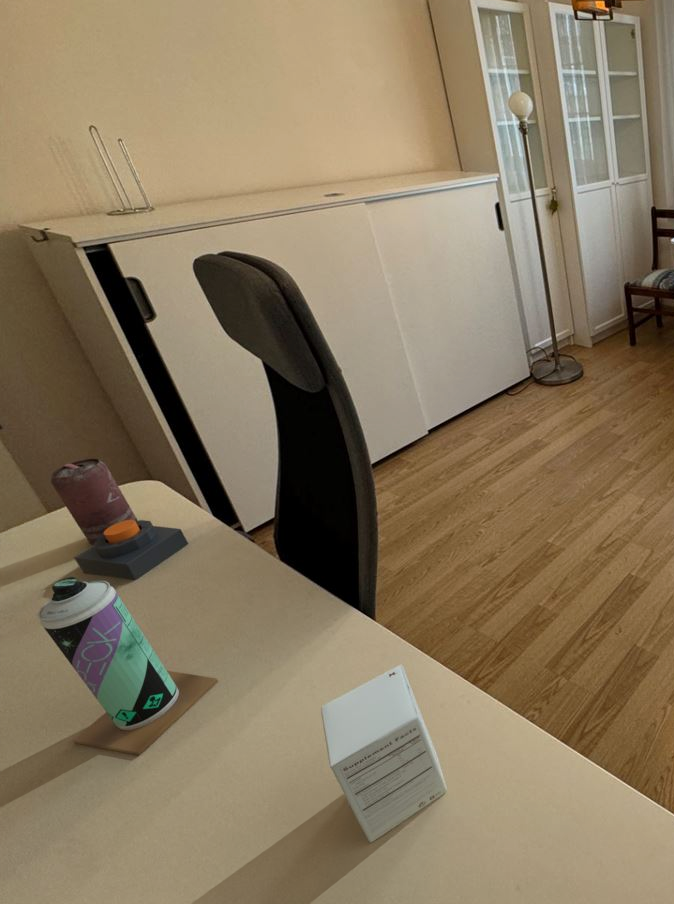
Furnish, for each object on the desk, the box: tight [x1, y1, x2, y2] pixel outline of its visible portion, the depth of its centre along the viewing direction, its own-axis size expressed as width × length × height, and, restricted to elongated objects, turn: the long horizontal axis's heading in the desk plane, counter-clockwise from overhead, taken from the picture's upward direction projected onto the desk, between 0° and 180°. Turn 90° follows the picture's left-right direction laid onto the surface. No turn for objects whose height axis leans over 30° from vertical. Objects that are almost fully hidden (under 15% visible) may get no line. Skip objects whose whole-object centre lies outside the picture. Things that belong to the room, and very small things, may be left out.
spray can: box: [37, 576, 179, 730], centre depth 62 cm, size 6×6×20 cm
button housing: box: [73, 519, 189, 581], centre depth 89 cm, size 10×8×5 cm
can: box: [50, 458, 139, 546], centre depth 92 cm, size 6×6×14 cm
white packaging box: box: [320, 664, 448, 844], centre depth 55 cm, size 7×7×13 cm
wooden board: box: [72, 669, 219, 756], centre depth 66 cm, size 9×9×1 cm
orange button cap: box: [104, 520, 140, 543], centre depth 87 cm, size 4×4×2 cm
